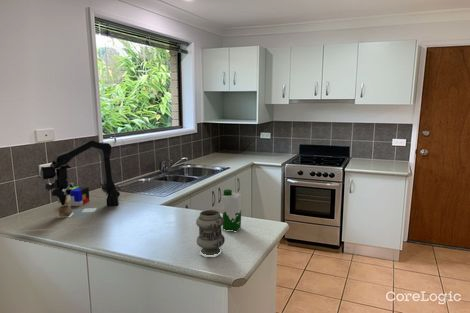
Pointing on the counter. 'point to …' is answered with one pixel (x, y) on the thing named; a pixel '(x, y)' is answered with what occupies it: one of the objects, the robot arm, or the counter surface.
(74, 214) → the mat
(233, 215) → the milk carton
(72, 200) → the puzzle toy
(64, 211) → the walnut cube
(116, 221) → the counter surface
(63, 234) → the counter surface
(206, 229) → the apothecary jar
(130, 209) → the counter surface
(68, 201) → the maple cube
